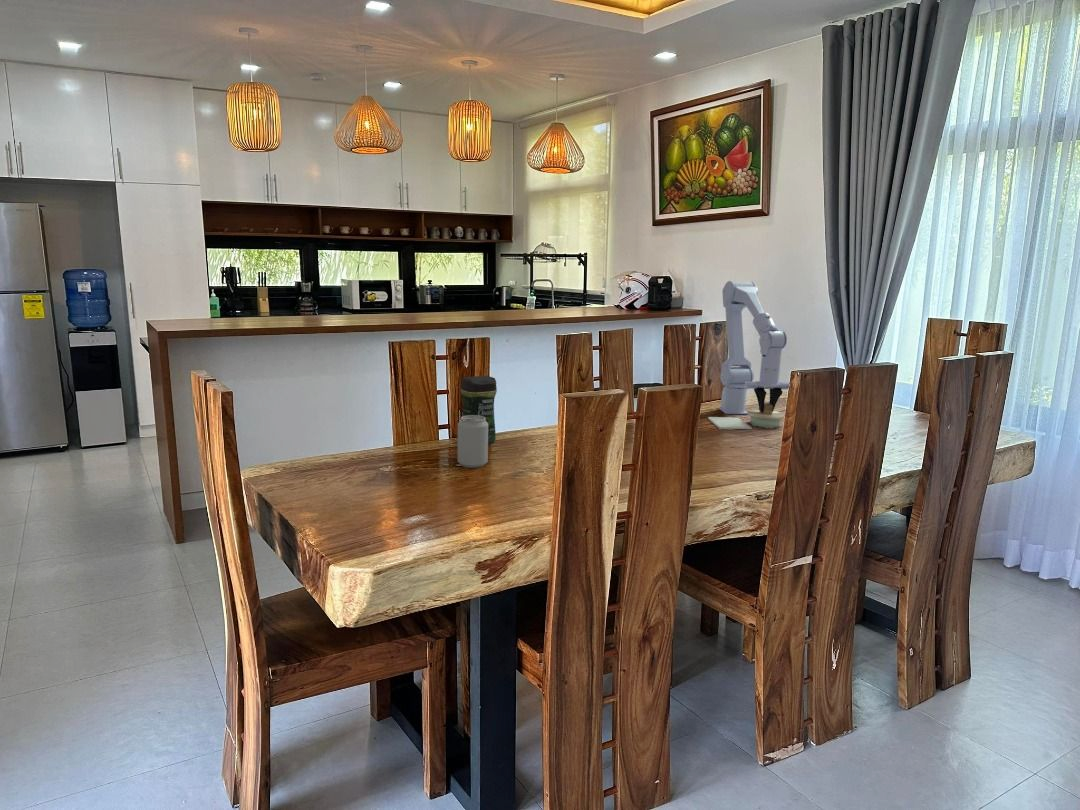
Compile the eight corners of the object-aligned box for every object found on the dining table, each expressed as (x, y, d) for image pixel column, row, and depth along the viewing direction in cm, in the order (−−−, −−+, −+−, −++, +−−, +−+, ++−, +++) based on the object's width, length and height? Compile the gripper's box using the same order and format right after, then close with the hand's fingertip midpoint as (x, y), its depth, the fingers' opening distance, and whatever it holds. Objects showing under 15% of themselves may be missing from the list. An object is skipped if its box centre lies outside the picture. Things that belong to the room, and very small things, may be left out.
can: (451, 463, 182) (451, 416, 179) (473, 458, 187) (474, 412, 184) (471, 470, 177) (471, 422, 174) (494, 464, 182) (494, 417, 180)
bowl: (746, 421, 237) (747, 412, 237) (773, 421, 238) (774, 412, 237) (755, 427, 228) (756, 418, 228) (783, 428, 229) (784, 419, 228)
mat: (707, 418, 239) (707, 417, 239) (737, 419, 240) (738, 417, 239) (719, 429, 225) (720, 427, 225) (751, 429, 226) (752, 427, 226)
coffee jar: (470, 448, 196) (470, 380, 192) (455, 441, 202) (455, 375, 198) (500, 443, 202) (501, 377, 198) (485, 437, 208) (486, 372, 204)
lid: (743, 411, 238) (744, 400, 237) (776, 412, 238) (777, 400, 237) (754, 419, 227) (755, 407, 226) (789, 419, 227) (790, 408, 227)
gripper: (751, 370, 225) (747, 413, 228) (797, 371, 226) (793, 414, 229) (744, 366, 232) (740, 408, 235) (789, 367, 233) (784, 409, 235)
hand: (766, 411), depth 232 cm, fingers closed on lid, 2 cm apart
